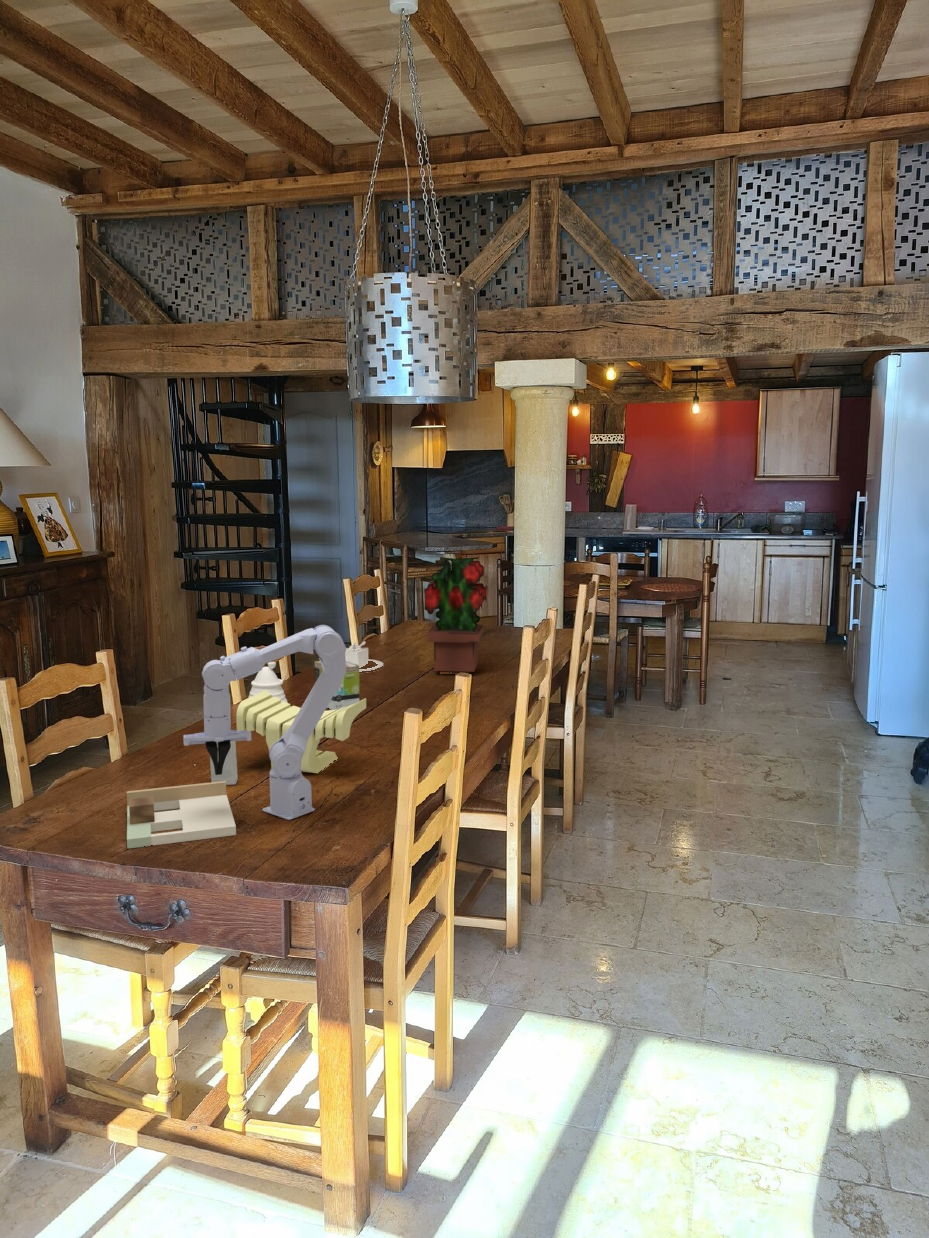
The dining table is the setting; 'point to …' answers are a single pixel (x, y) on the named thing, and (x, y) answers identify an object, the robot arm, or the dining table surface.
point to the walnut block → (141, 810)
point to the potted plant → (456, 613)
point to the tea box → (343, 686)
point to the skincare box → (227, 767)
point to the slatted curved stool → (278, 717)
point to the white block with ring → (360, 657)
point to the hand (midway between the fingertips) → (218, 773)
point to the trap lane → (183, 814)
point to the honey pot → (268, 683)
